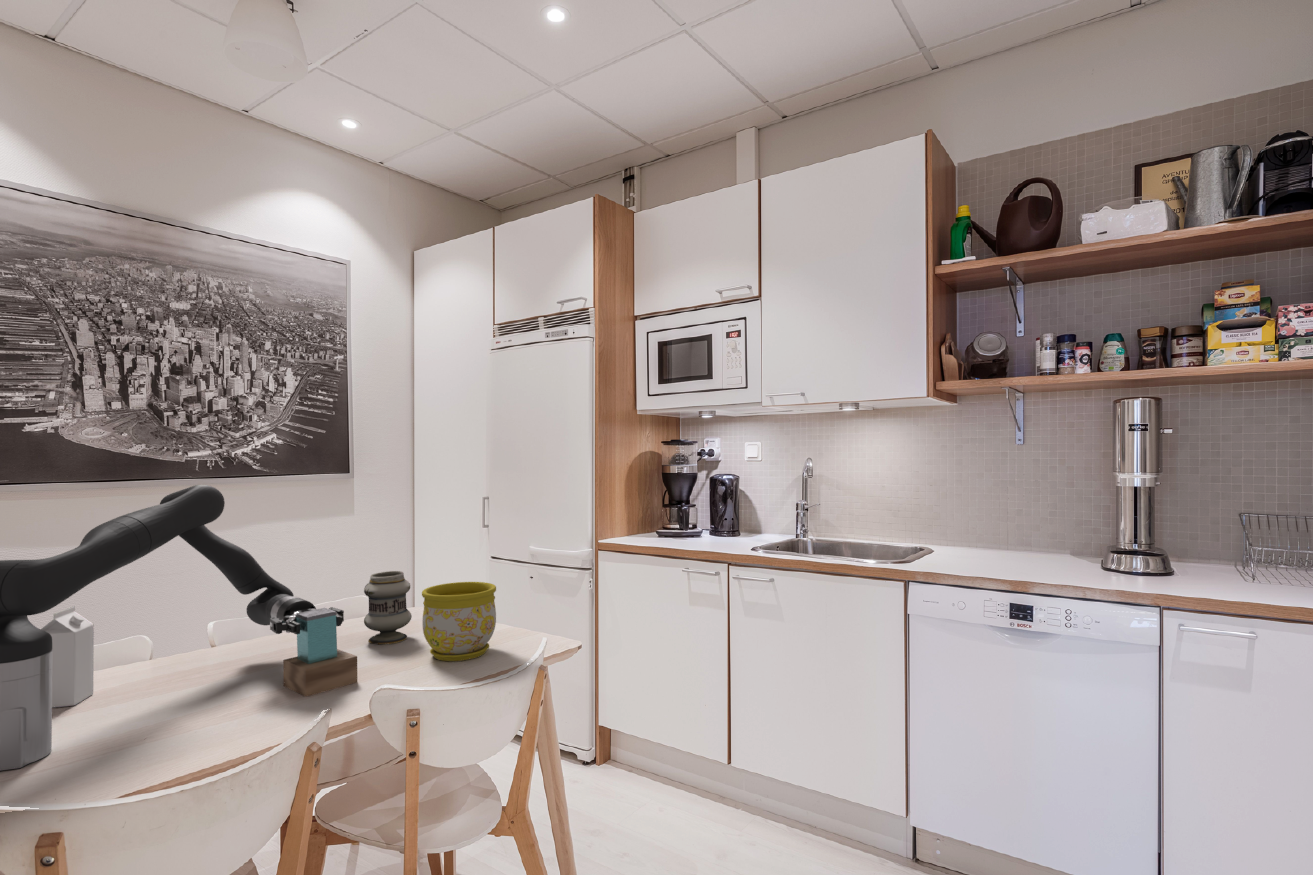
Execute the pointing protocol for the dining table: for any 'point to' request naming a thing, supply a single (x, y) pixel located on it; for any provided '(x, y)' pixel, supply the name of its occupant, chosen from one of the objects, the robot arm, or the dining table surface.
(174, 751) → the dining table surface
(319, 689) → the walnut block
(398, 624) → the apothecary jar
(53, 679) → the milk carton
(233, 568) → the robot arm
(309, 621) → the tea tin
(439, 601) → the flowerpot
